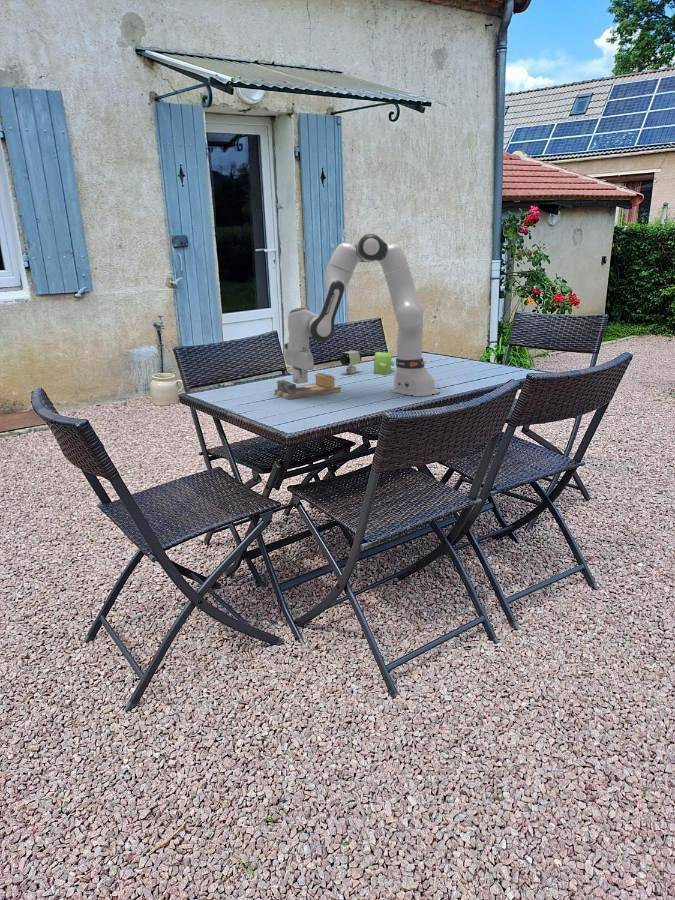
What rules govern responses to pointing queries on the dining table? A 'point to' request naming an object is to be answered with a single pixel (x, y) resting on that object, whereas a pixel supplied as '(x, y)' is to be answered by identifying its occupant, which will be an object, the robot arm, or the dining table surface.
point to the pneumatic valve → (350, 360)
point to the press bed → (302, 390)
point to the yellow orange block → (324, 380)
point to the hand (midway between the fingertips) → (300, 377)
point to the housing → (298, 376)
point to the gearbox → (383, 363)
